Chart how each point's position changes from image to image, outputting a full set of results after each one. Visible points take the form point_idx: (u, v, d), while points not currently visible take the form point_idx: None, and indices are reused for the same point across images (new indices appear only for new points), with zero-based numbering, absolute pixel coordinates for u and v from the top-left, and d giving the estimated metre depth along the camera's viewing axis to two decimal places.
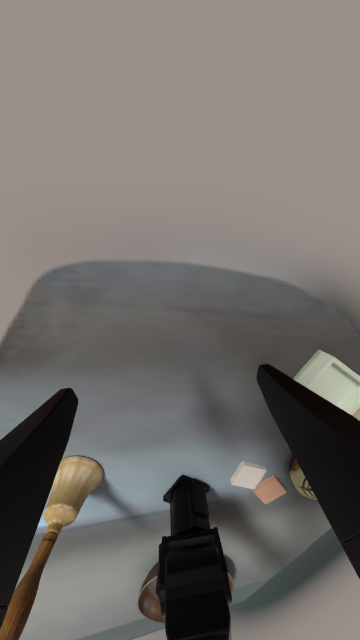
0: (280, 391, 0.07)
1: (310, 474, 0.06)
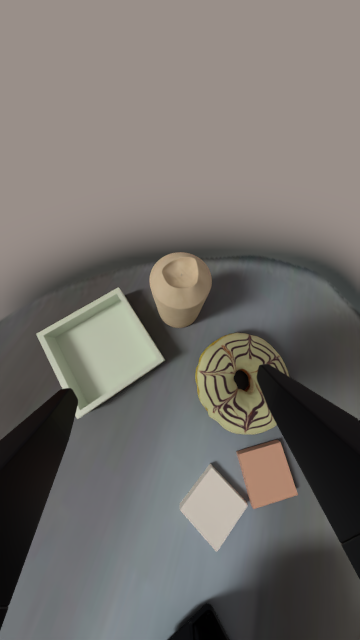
0: (280, 391, 0.07)
1: (310, 474, 0.06)
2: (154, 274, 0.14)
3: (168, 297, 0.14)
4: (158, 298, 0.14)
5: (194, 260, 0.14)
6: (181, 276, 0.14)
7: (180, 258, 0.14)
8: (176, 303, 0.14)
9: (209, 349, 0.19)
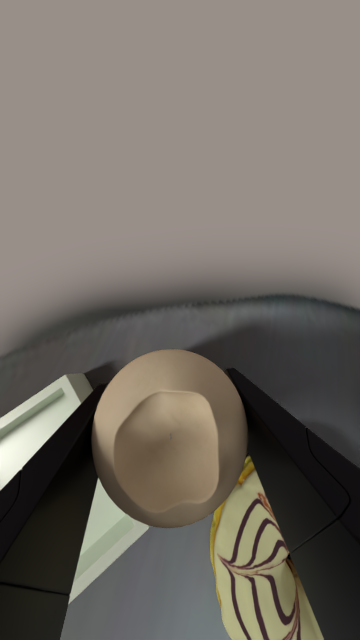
0: None
1: (264, 481, 0.06)
2: (99, 431, 0.05)
3: (136, 514, 0.05)
4: (112, 498, 0.05)
5: (205, 402, 0.05)
6: (170, 437, 0.05)
7: (165, 392, 0.05)
8: (160, 524, 0.05)
9: (234, 500, 0.10)
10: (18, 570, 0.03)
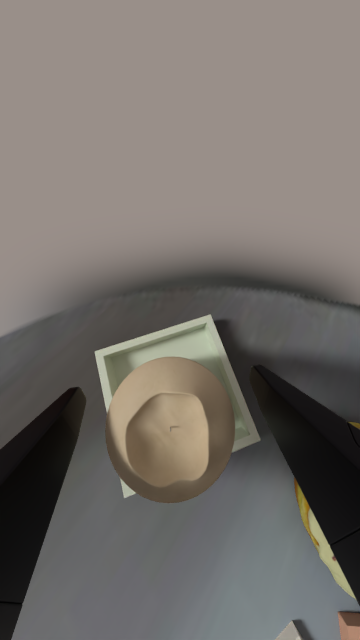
0: (271, 392, 0.07)
1: (300, 476, 0.06)
2: (112, 425, 0.07)
3: (143, 490, 0.06)
4: (123, 479, 0.07)
5: (198, 401, 0.06)
6: (170, 430, 0.07)
7: (166, 393, 0.07)
8: (162, 499, 0.06)
9: None
10: None
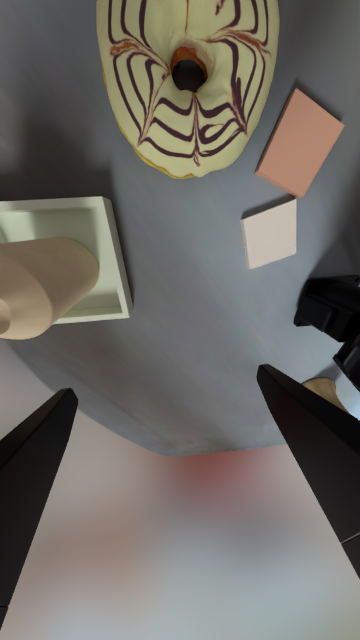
0: (280, 391, 0.07)
1: (310, 474, 0.06)
2: None
3: (33, 325, 0.10)
4: (39, 333, 0.11)
5: None
6: None
7: None
8: (42, 315, 0.10)
9: (110, 94, 0.10)
10: None
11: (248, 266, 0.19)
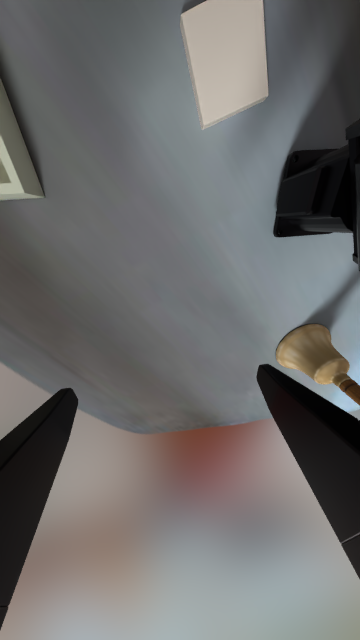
0: (280, 391, 0.07)
1: (310, 474, 0.06)
2: None
3: None
4: None
5: None
6: None
7: None
8: None
9: None
10: None
11: (201, 122, 0.13)
